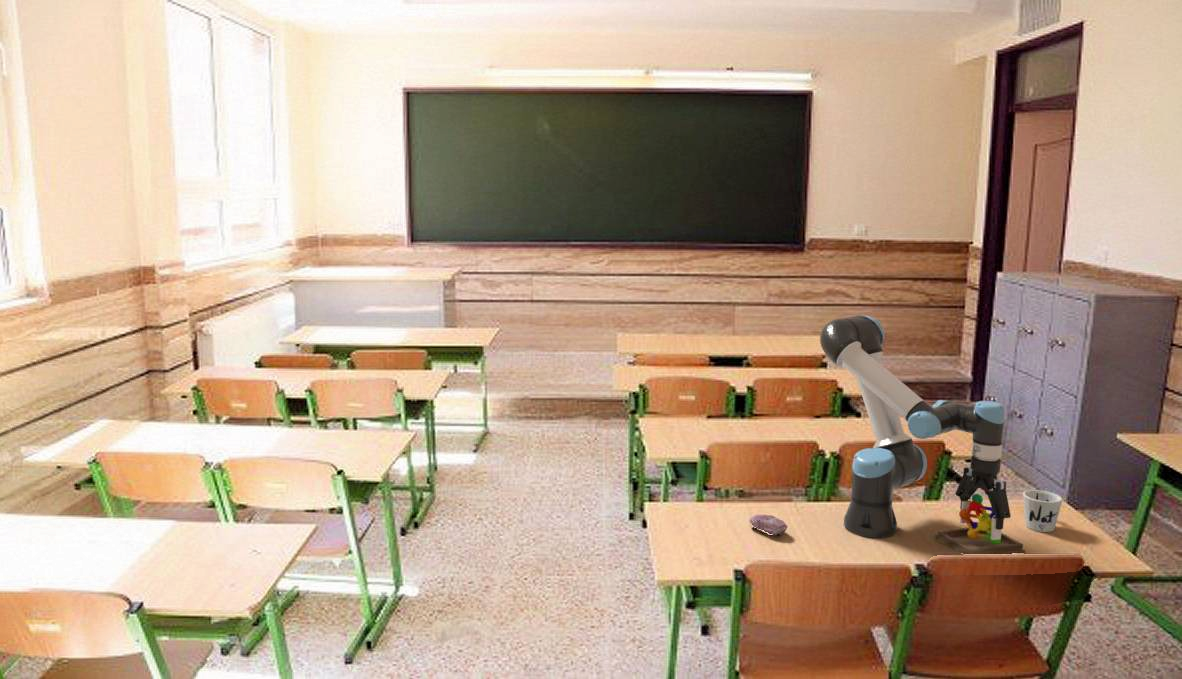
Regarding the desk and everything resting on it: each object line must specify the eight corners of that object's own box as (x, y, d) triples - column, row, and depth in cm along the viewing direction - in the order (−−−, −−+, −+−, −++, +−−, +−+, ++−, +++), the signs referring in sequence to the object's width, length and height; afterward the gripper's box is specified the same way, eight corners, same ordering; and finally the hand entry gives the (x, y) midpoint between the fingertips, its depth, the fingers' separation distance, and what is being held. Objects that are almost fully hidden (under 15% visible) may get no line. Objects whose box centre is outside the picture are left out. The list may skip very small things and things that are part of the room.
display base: (934, 538, 241) (935, 530, 240) (983, 531, 245) (984, 523, 245) (973, 561, 225) (974, 553, 225) (1025, 554, 230) (1025, 545, 229)
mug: (1023, 532, 245) (1026, 500, 243) (1014, 513, 259) (1016, 483, 257) (1063, 536, 242) (1066, 503, 240) (1051, 517, 256) (1054, 486, 254)
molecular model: (1003, 545, 230) (1006, 505, 228) (980, 547, 229) (982, 507, 227) (978, 529, 241) (981, 491, 239) (956, 531, 240) (958, 493, 238)
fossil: (773, 542, 239) (773, 525, 238) (741, 526, 251) (741, 510, 250) (794, 536, 243) (795, 519, 242) (762, 520, 255) (762, 504, 254)
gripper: (945, 445, 241) (940, 516, 245) (1006, 471, 218) (999, 549, 222) (967, 443, 243) (962, 513, 247) (1030, 469, 220) (1022, 546, 224)
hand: (979, 530), depth 235 cm, fingers closed on molecular model, 11 cm apart
